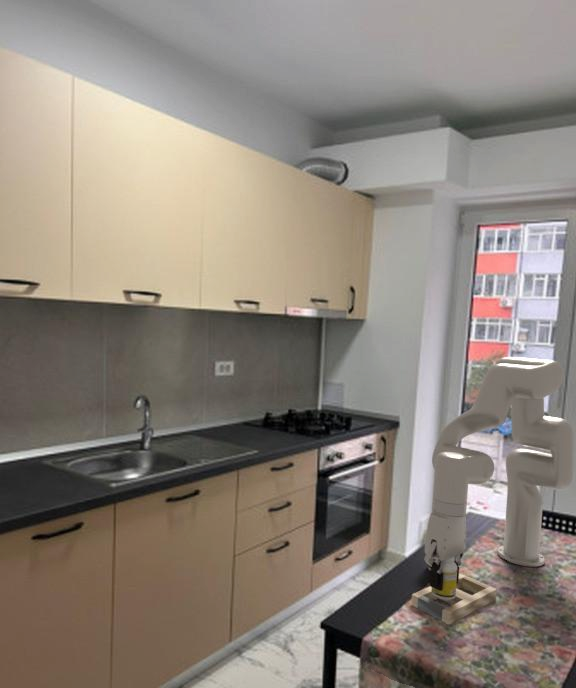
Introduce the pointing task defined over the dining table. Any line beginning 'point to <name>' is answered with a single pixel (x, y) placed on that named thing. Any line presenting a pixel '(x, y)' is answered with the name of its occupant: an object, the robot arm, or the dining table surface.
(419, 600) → the wooden divided frame
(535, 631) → the dining table surface
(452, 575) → the supplement bottle
